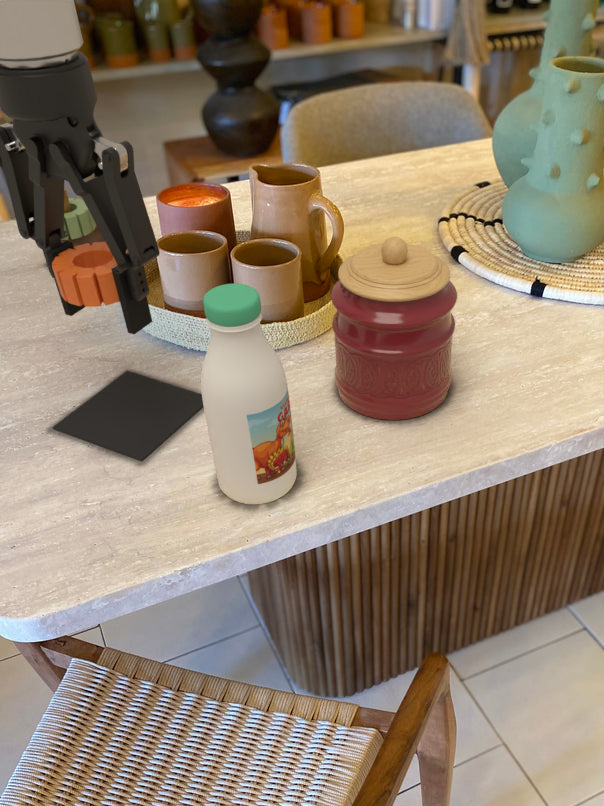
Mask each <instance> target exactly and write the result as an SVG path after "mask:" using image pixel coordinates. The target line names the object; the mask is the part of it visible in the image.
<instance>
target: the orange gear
mask: <svg viewBox="0 0 604 806" xmlns="http://www.w3.org/2000/svg"><path fill="white" fill-rule="evenodd" d="M127 252H128V249H127V250H126V253H127ZM58 255H59V256H56V257H55V259H54V261H53V262H52V268H53V271H54V275H55V278H56V281H57V284H58V287H59V290H60V294H61V296H62V297H63V299H64V300H65V301H68V303H70V304H74V305H77V306H82V305H83V304H84V306H85V308H89V307H90V308H92V307H102V304H103V305H105V306H109V305H112V304H113V305H114V304H116V303H120V300H119V296H118V292H117V288H116V285H115V281H114V277H113V273H112V268H114V267H116V266H117V265H118V264H117V263H116V261H115V259H114V257H113V255H112V253H111V251H110V249H109V247H108V246H107V244H106V242H93V244H92V246H91V245H90V244H89V243H86V244H82V245H78V246H74V249H70V248H69V249H67V250H65V251H63V252H62V253H60V254H58Z"/></svg>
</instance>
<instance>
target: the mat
mask: <svg viewBox="0 0 604 806" xmlns="http://www.w3.org/2000/svg"><path fill="white" fill-rule="evenodd" d="M202 409H204V406H203V400H202V393H199V392H195V391H193V390H189V389H186V388H183V387H180V386H177V385H173V384H170V383H167V382H164V381H161V380H158V379H154V378H152V377H149V376H145V375H143V374H139V373H137V372H133V371H131V370H130V371H129V370H126V371H125V372H123V373H122V374H121V375H120V376H118V377H116V378H115V379H114V380H113V381H111V382H110V383H109V384H107V385H106V386H105V387H103V388H102V389H101V390H100V391H98V392H97V393H95V394H94V395H93V396H91V397H90V398H89V399H87V400H86V401H85V402H83V404H81V405H80V406H78V407H77V408H76V409H74V410H73V411H72V412H70V413H69V414H68V415H67V416H65V417H64V418H63V419H61V420H59V421H58V422H57V423H56V424H54V425H53V426H52V430H54V431H57V432H60V433H63V434H66V435H68V436H71V437H73V438H76V439H79V440H82V441H84V442H87V443H89V444H93V445H95V446H98V447H100V448H103V449H106V450H109V451H111V452H114V453H116V454H120V455H123V456H125V457H127V458H131V459H133V460H136V461H139V462H144V461H145V460H146V459H147V458H148V457H149V456H150V455H152V454H153V453H154V452H155V451H156V450H158V448H159V447H161V446H162V445H163V444H164V443H165V442H166V441H167V440H168V439H170V438H171V437H172V436H174V434H175V433H176V432H178V430H180V429H181V428H182V427H183V426H184V425H186V423H188V421H190V420H191V419H192V418H193V417H194V416H196V415H197V413H199V412H200V411H201V410H202Z"/></svg>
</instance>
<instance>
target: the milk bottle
mask: <svg viewBox="0 0 604 806" xmlns="http://www.w3.org/2000/svg"><path fill="white" fill-rule="evenodd" d="M202 305H203V312H204V316H205V323H206V325H207V326H208V327H209V328H210V334H209V342H208V347H207V350H206V354H205V356H204V359H203V362H202V366H201V372H200V390H201V391H200V392H201V393H200V394H202V400H203V406H204V407H203V411H204V417H205V423H206V428H207V433H208V438H209V443H210V449H211V453H212V458H213V464H214V470H215V474H216V479H217V483H218V486H219V488H220V490H221V491H222V493H223V494H224V495H226V496H227V498H229V499H231V500H232V501H234V502H237V503H240V504H245V505H264V504H267V503H272V502H273V501H277V500H278V499H280V498H282V497H284V496H285V495H286V494H287V493H289V492H290V490H291V489H292V488H293V486H294V484H295V482H296V479H297V474H298V473H297V472H298V471H297V457H296V449H295V438H294V429H293V428H294V427H293V419H292V410H291V402H290V394H289V393H290V392H289V388H288V381H287V376H286V372H285V369H284V366H283V364H282V361H281V360H280V357H279V355H278V353H277V352H276V351H275V349H274V348H273V346H272V345H271V343H270V342H269V340H268V338H267V337H266V335H265V333H264V329H263V327H262V326H261V321H262V320H263V313H262V303H261V295H260V293H259V291H258V290H257V289H256V288H255V287H253V286H250V285H248V284H243V283H225V284H221V285H218V286H215V287H213V288H211V289H209V290H208V291H207V292H205V294H204V296H203V299H202Z"/></svg>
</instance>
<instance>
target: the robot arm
mask: <svg viewBox="0 0 604 806" xmlns="http://www.w3.org/2000/svg"><path fill="white" fill-rule="evenodd" d="M83 44H84V39H83V35H82V30H81V26H80V22H79V17H78V14H77V9H76V4H75V0H0V111H1V112H2V113H3V114H4V115H5V116H6V117H9V118H10V119H12V120H10V121H9V122H5V123H2V124H0V159H1V160H0V161H1V163H2V167H3V172H4V177H5V180H6V184H7V188H8V192H9V196H10V201H11V205H12V209H13V213H14V217H15V221H16V225H17V230H18V233H19V235H20V237H22V239H24V240H29V239H32V240H33V241H34V242H35V244H36V246H37V248H39V249H40V250H42V253H43V256H44V260H45V263H46V266H47V268H48V272H49V275H50V276H51V277H52V279H54V283H55V285H56V289H57V292H58V296H59V298H60V299H59V300H60V302H61V305H62V307H63V311H64V313H65V315H66V316H70V317H72V316H74V315H76V314H77V313H79V312H81V311H82V310H83V309H85V308H86V307H85V306H84V304H83V305H82V306H77V305H74V304H70V303H68V301H65V300H64V299H63V297H62V296H61V294H60V290H59V287H58V284H57V281H56V278H55V275H54V271H53V268H52V262H53V261H54V259H55V257H56V256H59V255H58V254H60V253H62V252H63V251H65V250H67V249H69V248H70V249H74V246H73V242H70V241H65V242H63V243H61V240H62V239H64V238H66V237H68V236H69V233H68V234H66V233H67V232H66V231H65V230H64V188H65V182H68V184H69V186H70V188H71V189H72V191H73V193H74V194H75V195H76V196H77V197H80V198H81V199H83V200H84V202H85V204H86V206H87V208H88V210H89V212H90V213H91V215H92V217H93V219H94V221H95V223H96V225H97V227H98V229H99V230H100V232H101V234H102V236H103V238H104V240H105V242H106V244H107V246H108V247H109V249H110V251H111V253H112V255H113V257H114V259H115V261H116V263H117V264H118V265H117V266H116V267H114V268H112V273H113V277H114V281H115V285H116V288H117V292H118V296H119V300H120V302H119V304H120V307H121V311H122V315H123V319H124V323H125V326H126V330H127V333H128V334H132V335H136V334H137V333H138V332H140V331H141V330H143V329H144V328H146V327H147V326H148V325H149V324H151V323H153V318H152V314H151V310H150V305H149V301H148V296H149V295H150V287H149V283H148V279H147V275H146V270H145V266H146V265H147V264H148V263H150V262H151V261H153V260H155V259H156V258H157V257H159V256H160V254H161V253H160V248H159V245H158V242H157V238H156V236H155V232H154V229H153V226H152V223H151V219H150V216H149V213H148V210H147V207H146V203H145V200H144V197H143V194H142V191H141V188H140V184H139V181H138V178H137V174H136V171H135V154H134V153H135V152H134V151H135V150H134V148H133V145H132V144H131V143H130V142H129V141H128V140H123V141H121V142H118V143H116V142H114V141H112V140H109V139H107V138H105V137H104V136H103V133H102V131H101V129H100V128H99V126H98V124H97V122H96V119H95V116H94V114H95V113H94V112H95V107H96V105H97V101H98V96H97V91H96V88H95V83H94V78H93V75H92V70H91V66H90V62H89V58H88V56H86V55H85V53H83V52H82V51H80V49H81V47H82V46H83ZM92 175H95V176H93V178H91V179H89V180H86V181H85V179H88V178H89V177H91V176H92ZM31 218H32V220H30V219H31ZM65 234H66V235H65ZM127 249H128V252H127V253H126V250H127Z"/></svg>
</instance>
